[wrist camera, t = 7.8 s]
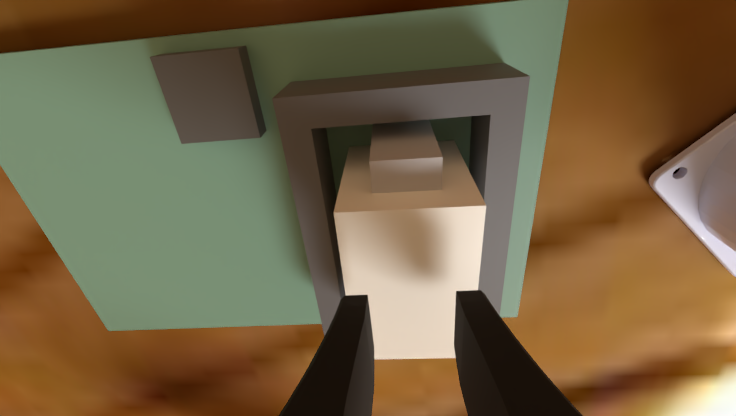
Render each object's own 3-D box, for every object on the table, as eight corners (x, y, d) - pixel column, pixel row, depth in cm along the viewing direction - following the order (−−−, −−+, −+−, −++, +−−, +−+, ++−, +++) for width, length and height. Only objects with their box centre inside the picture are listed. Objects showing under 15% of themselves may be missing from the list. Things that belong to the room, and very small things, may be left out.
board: (556, -5, 12) (614, -6, 9) (511, 302, 19) (535, 360, 16) (-39, 57, 14) (-158, 73, 11) (119, 317, 21) (74, 371, 18)
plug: (448, 264, 17) (471, 357, 12) (362, 267, 17) (355, 359, 13) (455, 113, 13) (490, 170, 9) (346, 121, 13) (328, 178, 9)
